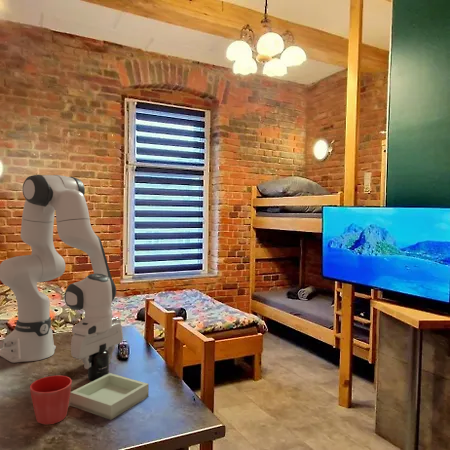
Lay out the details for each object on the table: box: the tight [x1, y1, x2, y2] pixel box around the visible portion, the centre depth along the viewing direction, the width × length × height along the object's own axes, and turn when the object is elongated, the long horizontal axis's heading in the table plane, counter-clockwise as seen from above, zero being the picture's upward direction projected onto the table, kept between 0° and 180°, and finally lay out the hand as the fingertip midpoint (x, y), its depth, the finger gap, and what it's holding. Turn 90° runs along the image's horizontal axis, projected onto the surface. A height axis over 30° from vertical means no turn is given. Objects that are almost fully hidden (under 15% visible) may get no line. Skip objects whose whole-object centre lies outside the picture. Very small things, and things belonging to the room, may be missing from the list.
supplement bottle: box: [87, 343, 110, 382], centre depth 141 cm, size 7×7×12 cm
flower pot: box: [29, 374, 73, 426], centre depth 115 cm, size 11×11×10 cm
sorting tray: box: [69, 372, 150, 421], centre depth 125 cm, size 16×16×4 cm
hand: (98, 363), depth 141 cm, fingers open, 8 cm apart
